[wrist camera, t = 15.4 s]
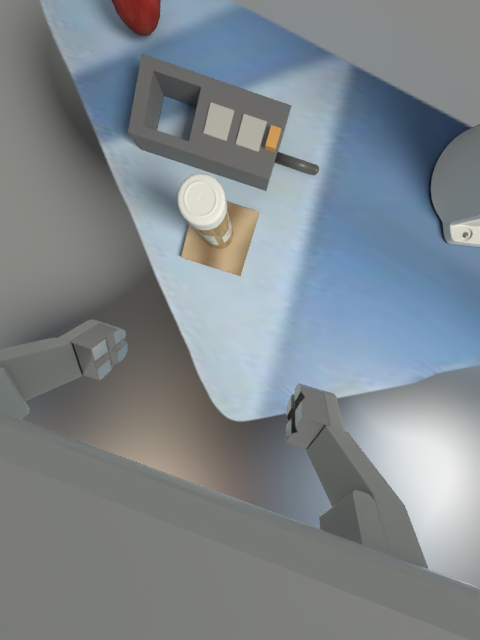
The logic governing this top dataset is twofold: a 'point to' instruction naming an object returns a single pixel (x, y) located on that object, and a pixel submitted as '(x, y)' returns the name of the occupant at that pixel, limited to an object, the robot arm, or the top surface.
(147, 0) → the onion
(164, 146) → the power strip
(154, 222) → the top surface
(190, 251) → the wooden mat
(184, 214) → the sprinkles bottle
